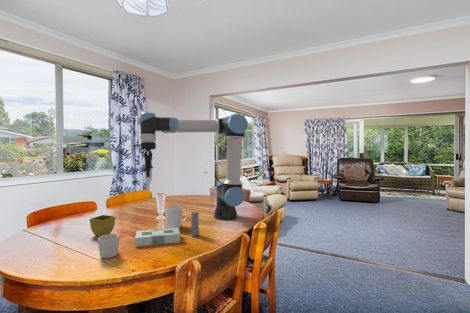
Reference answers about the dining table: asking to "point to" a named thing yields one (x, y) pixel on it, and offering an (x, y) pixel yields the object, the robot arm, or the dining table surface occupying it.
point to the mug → (174, 217)
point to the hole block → (157, 237)
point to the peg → (195, 224)
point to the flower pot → (102, 224)
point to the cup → (108, 245)
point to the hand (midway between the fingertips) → (148, 181)
